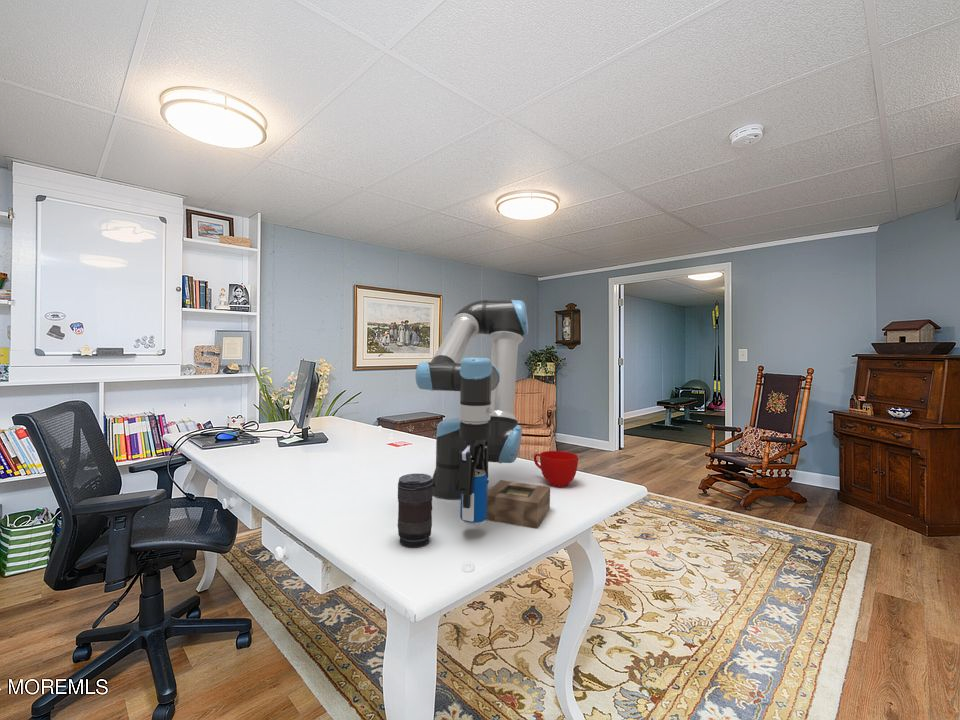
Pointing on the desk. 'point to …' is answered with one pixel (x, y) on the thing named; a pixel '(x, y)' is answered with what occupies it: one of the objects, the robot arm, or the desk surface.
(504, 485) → the socket block
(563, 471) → the ceramic cup
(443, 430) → the robot arm
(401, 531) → the camera lens
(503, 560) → the desk surface
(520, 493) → the gold metal plaque
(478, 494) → the beverage can
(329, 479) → the desk surface
